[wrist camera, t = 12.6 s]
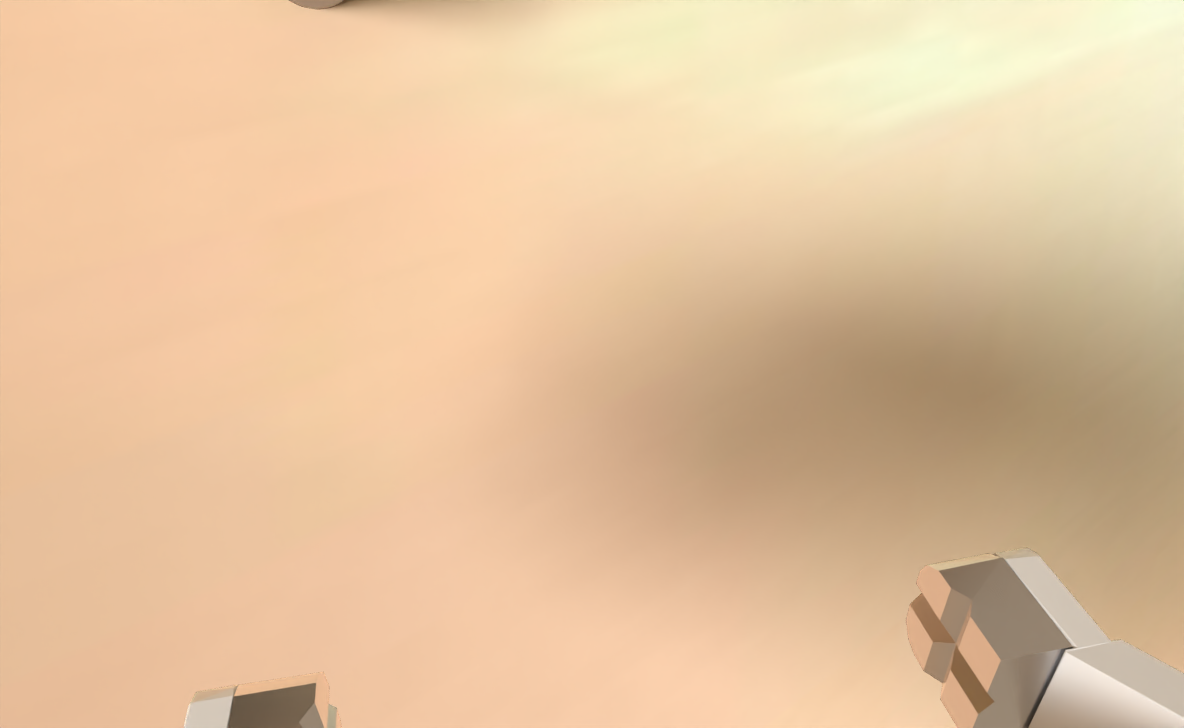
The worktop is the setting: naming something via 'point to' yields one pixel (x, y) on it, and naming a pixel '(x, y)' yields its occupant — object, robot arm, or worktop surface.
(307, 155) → the worktop surface
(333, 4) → the block
